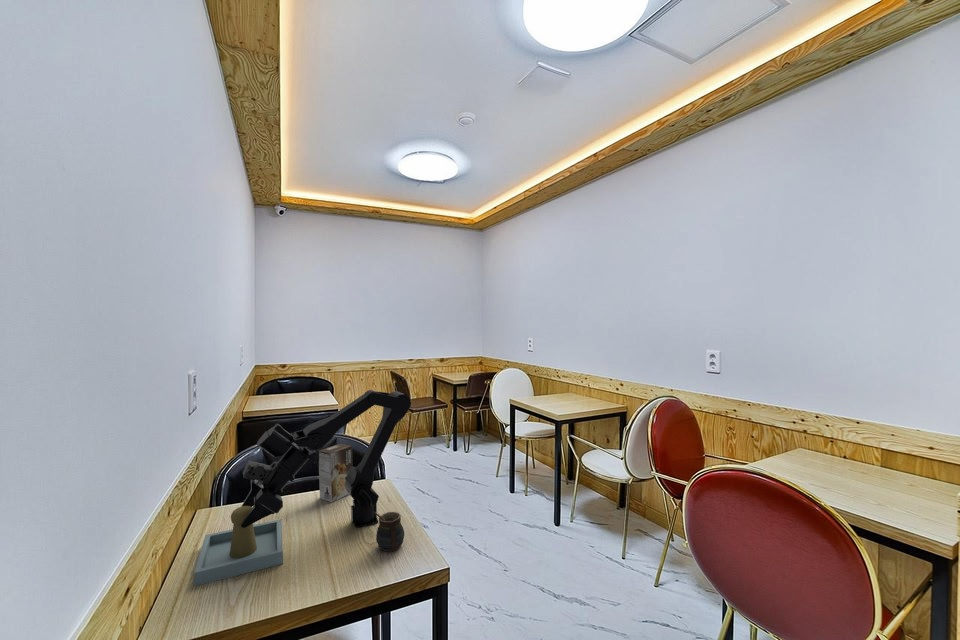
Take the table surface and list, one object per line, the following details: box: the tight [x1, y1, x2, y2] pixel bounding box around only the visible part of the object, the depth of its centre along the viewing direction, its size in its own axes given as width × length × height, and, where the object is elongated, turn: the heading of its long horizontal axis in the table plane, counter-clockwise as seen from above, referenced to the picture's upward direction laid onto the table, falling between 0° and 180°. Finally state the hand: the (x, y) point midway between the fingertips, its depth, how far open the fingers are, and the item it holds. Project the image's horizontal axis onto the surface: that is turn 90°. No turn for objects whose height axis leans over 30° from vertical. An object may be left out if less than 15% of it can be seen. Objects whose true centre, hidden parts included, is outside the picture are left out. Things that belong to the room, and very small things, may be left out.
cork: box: [230, 505, 257, 558], centre depth 105 cm, size 6×6×11 cm
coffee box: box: [318, 443, 354, 503], centre depth 139 cm, size 9×6×16 cm
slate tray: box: [193, 518, 284, 587], centre depth 105 cm, size 18×18×3 cm
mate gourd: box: [374, 511, 405, 552], centre depth 108 cm, size 7×8×10 cm
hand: (241, 519), depth 105 cm, fingers open, 9 cm apart
